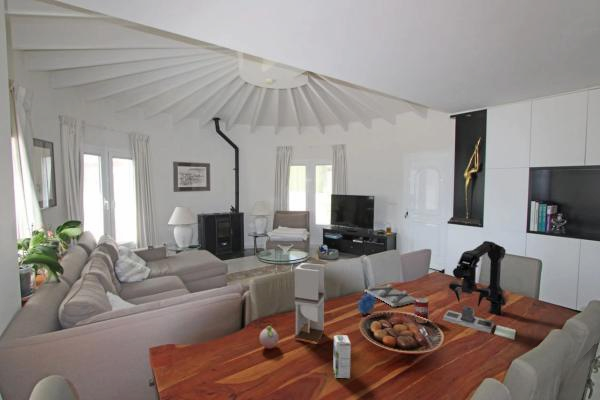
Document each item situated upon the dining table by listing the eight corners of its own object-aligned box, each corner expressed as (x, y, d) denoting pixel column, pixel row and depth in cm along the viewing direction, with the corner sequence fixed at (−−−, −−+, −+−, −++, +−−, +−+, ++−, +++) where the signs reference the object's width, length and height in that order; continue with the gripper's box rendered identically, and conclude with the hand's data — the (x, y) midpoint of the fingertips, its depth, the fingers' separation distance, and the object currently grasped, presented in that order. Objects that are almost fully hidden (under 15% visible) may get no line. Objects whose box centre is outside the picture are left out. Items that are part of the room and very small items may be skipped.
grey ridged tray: (419, 303, 183) (419, 292, 183) (393, 309, 174) (393, 297, 174) (387, 287, 211) (387, 278, 210) (363, 292, 202) (363, 282, 201)
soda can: (429, 325, 153) (430, 303, 153) (415, 323, 155) (415, 302, 154) (426, 319, 160) (427, 298, 160) (412, 317, 162) (413, 297, 161)
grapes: (371, 309, 173) (371, 289, 172) (377, 314, 167) (378, 293, 166) (354, 312, 169) (354, 292, 168) (360, 317, 163) (360, 296, 162)
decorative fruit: (257, 345, 134) (257, 324, 133) (274, 341, 137) (274, 321, 137) (262, 356, 125) (262, 333, 125) (280, 352, 128) (280, 330, 128)
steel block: (463, 319, 160) (464, 305, 159) (474, 322, 157) (474, 307, 156) (461, 323, 156) (462, 308, 155) (472, 325, 153) (472, 310, 152)
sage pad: (496, 326, 152) (496, 325, 152) (515, 331, 147) (515, 330, 147) (494, 334, 144) (494, 333, 144) (514, 339, 139) (514, 338, 139)
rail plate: (448, 313, 167) (448, 309, 167) (493, 325, 153) (493, 321, 153) (443, 320, 159) (443, 316, 159) (490, 333, 145) (490, 329, 145)
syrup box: (332, 370, 116) (333, 335, 115) (347, 369, 116) (347, 334, 116) (335, 379, 110) (335, 342, 110) (350, 378, 111) (351, 342, 110)
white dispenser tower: (294, 340, 138) (294, 268, 137) (302, 329, 148) (302, 262, 147) (317, 344, 134) (317, 271, 133) (323, 333, 144) (323, 265, 143)
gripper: (446, 276, 155) (446, 304, 156) (487, 283, 143) (486, 314, 144) (451, 271, 163) (451, 298, 164) (490, 277, 151) (489, 306, 152)
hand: (468, 304), depth 156 cm, fingers open, 9 cm apart
